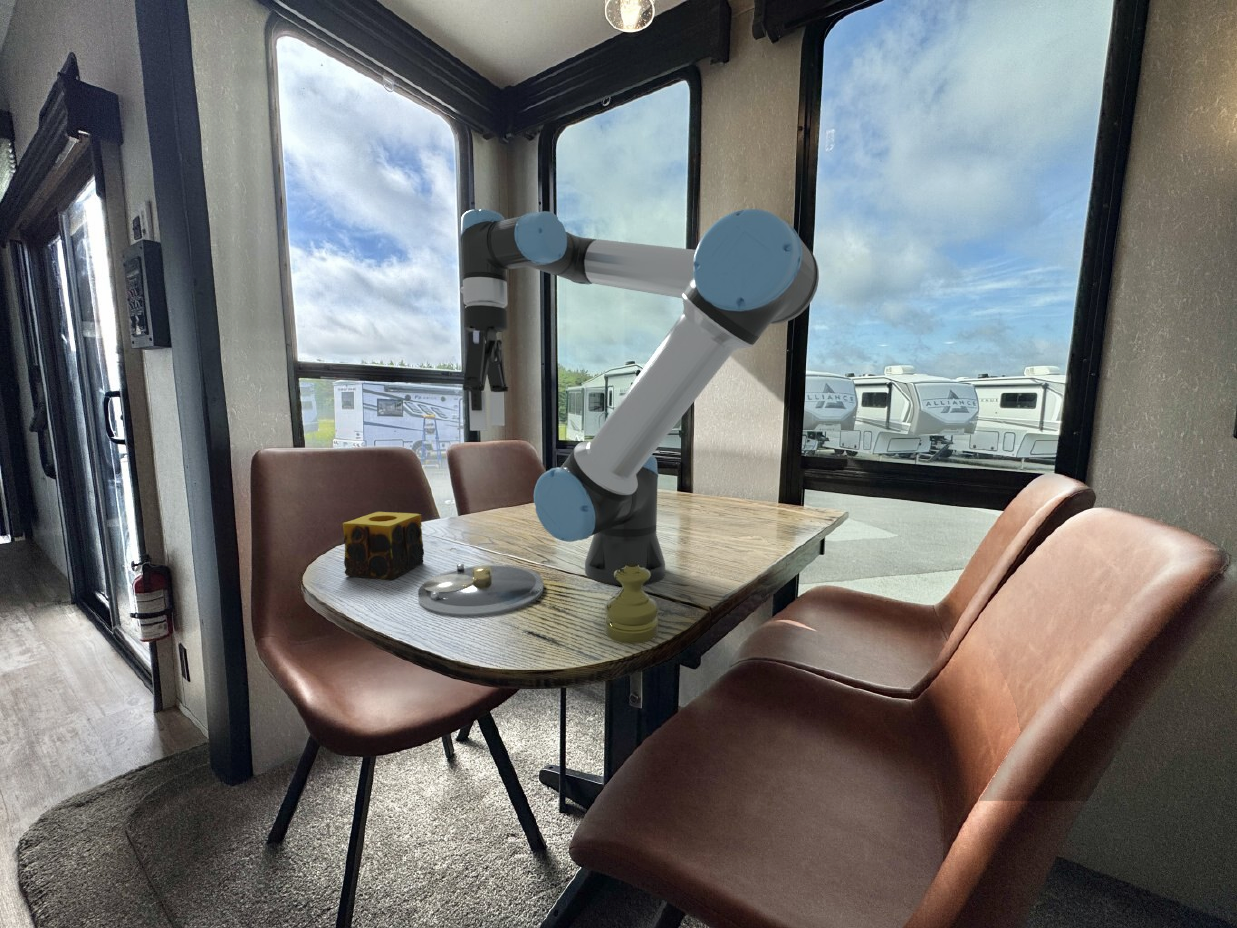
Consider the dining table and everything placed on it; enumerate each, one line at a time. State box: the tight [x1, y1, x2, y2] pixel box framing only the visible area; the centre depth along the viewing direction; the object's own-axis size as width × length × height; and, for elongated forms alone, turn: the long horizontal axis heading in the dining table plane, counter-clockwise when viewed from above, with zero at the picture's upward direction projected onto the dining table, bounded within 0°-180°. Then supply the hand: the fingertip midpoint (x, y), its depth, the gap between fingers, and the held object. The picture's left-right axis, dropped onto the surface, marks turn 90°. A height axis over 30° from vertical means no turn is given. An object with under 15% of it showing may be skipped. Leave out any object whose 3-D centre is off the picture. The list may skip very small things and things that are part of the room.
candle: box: [342, 511, 425, 581], centre depth 95 cm, size 10×10×10 cm
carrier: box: [417, 563, 544, 617], centre depth 84 cm, size 20×20×4 cm
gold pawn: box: [604, 563, 660, 644], centre depth 69 cm, size 7×7×10 cm
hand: (488, 428), depth 92 cm, fingers open, 13 cm apart
